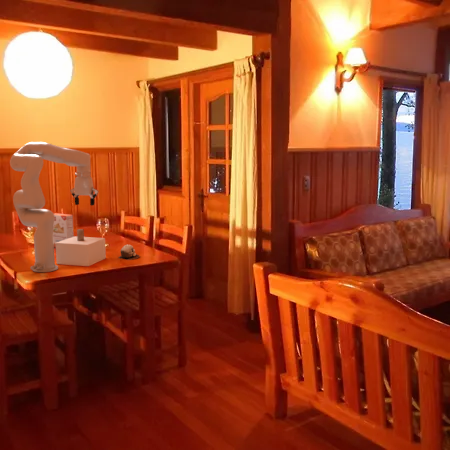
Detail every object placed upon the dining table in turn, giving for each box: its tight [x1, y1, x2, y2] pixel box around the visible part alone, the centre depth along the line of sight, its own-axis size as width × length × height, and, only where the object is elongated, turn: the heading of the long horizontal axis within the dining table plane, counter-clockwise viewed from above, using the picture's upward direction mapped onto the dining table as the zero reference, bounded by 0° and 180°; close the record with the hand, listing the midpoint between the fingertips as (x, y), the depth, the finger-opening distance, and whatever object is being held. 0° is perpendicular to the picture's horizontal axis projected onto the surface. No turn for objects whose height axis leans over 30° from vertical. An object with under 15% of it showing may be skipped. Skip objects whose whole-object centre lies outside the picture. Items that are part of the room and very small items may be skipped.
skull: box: [117, 244, 140, 261], centre depth 299 cm, size 12×10×10 cm
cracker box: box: [53, 212, 75, 249], centre depth 323 cm, size 14×6×21 cm, turn 62°
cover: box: [55, 228, 107, 267], centre depth 289 cm, size 19×19×18 cm
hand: (84, 205), depth 300 cm, fingers open, 9 cm apart
